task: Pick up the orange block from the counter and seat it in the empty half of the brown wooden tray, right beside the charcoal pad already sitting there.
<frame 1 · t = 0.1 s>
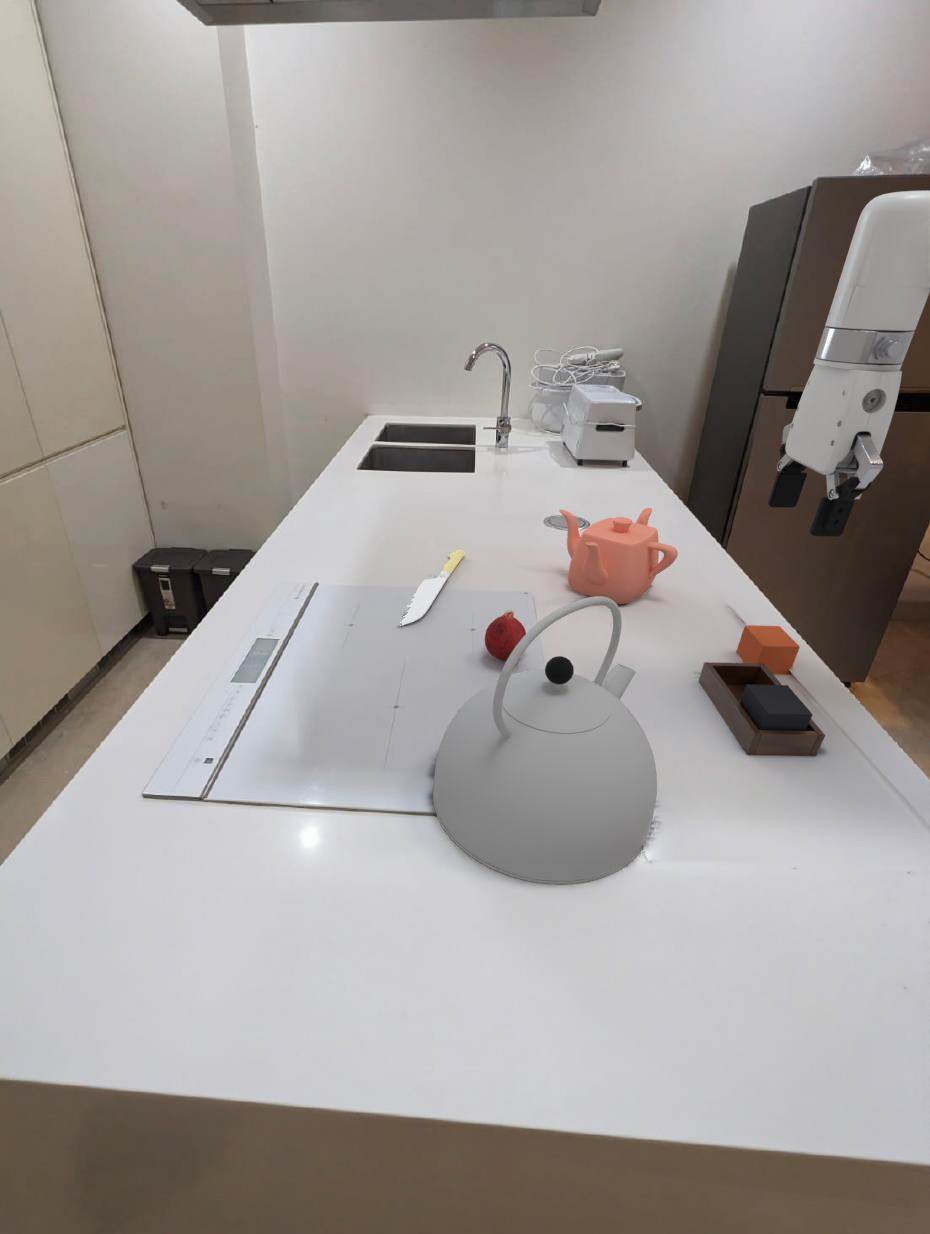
hand: (801, 520, 71), 24 cm above the counter, tool pointing down, fingers open, 9 cm apart
knife: (432, 587, 111), on the counter
orange block: (760, 666, 90), on the counter
red pomegranate: (503, 662, 90), on the counter
pad charcoal: (765, 732, 76), point 1 cm above the counter, touching brown wooden tray
kettle: (546, 793, 68), on the counter
brown wooden tray: (751, 719, 79), on the counter
pot: (605, 586, 113), on the counter
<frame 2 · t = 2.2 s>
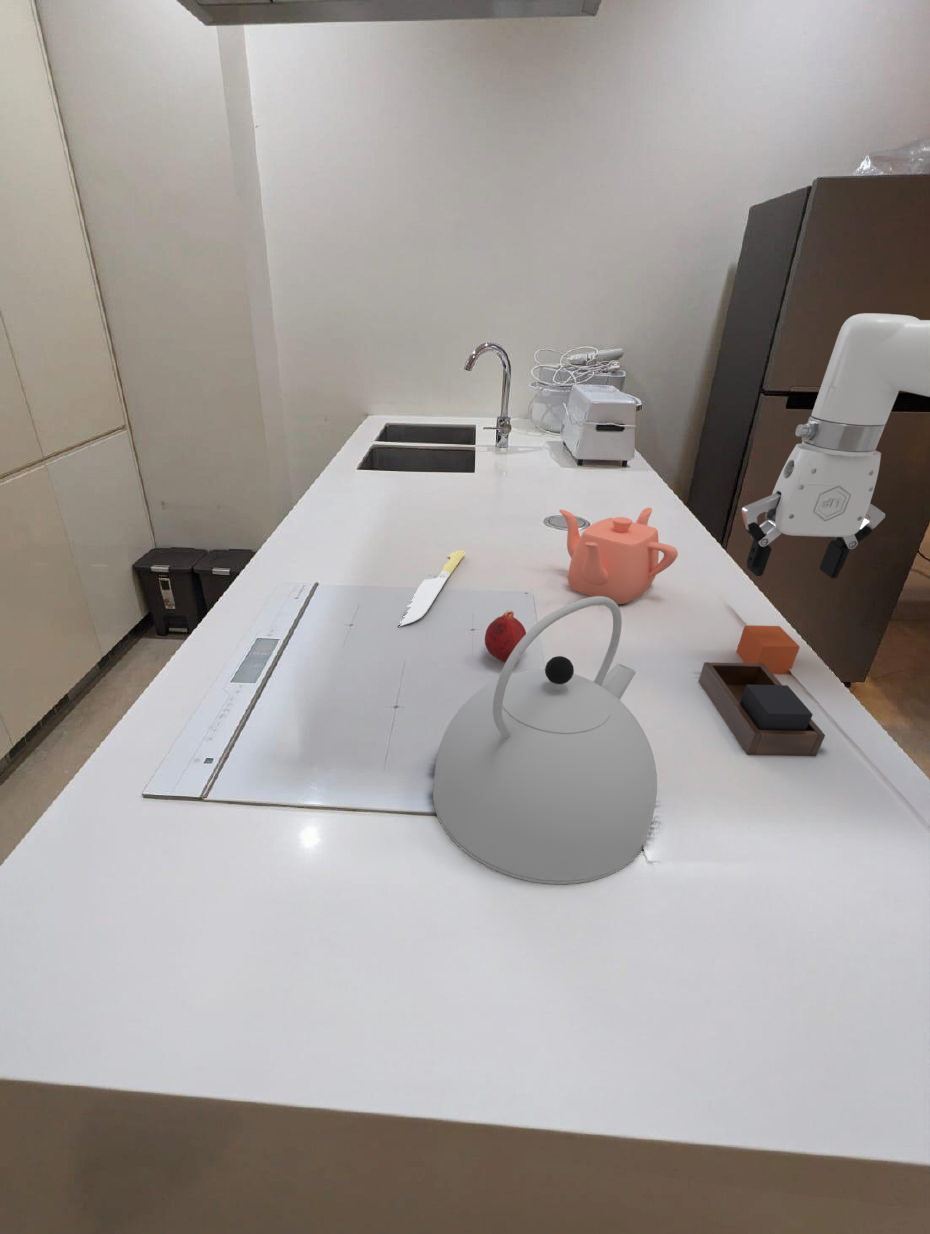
hand: (790, 572, 82), 14 cm above the counter, tool pointing down, fingers open, 9 cm apart
nothing on the counter moved.
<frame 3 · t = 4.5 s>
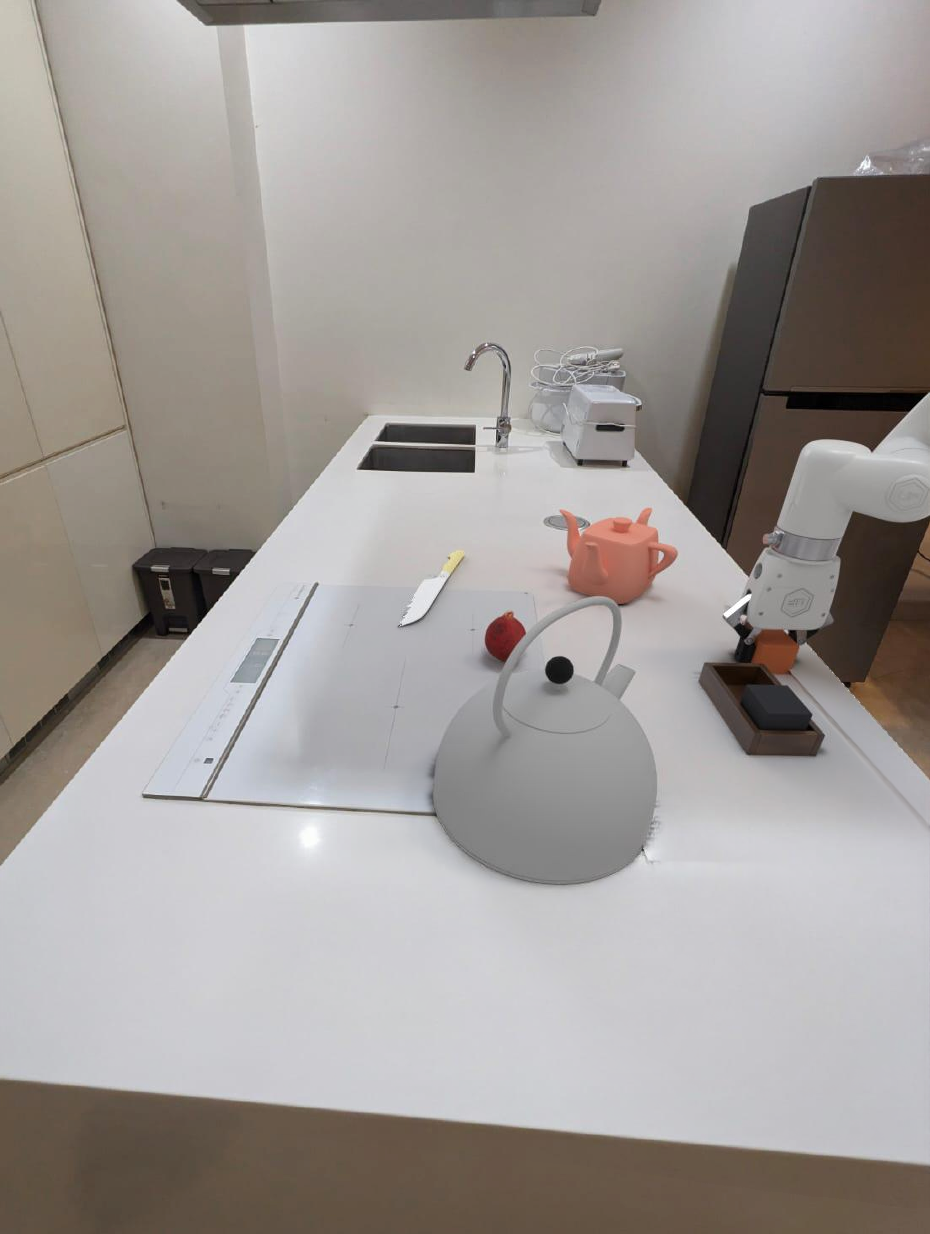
hand: (761, 663, 90), 0 cm above the counter, tool pointing down, fingers closed on orange block, 5 cm apart
orange block: (760, 666, 90), on the counter, touching gripper
everything else where it was.
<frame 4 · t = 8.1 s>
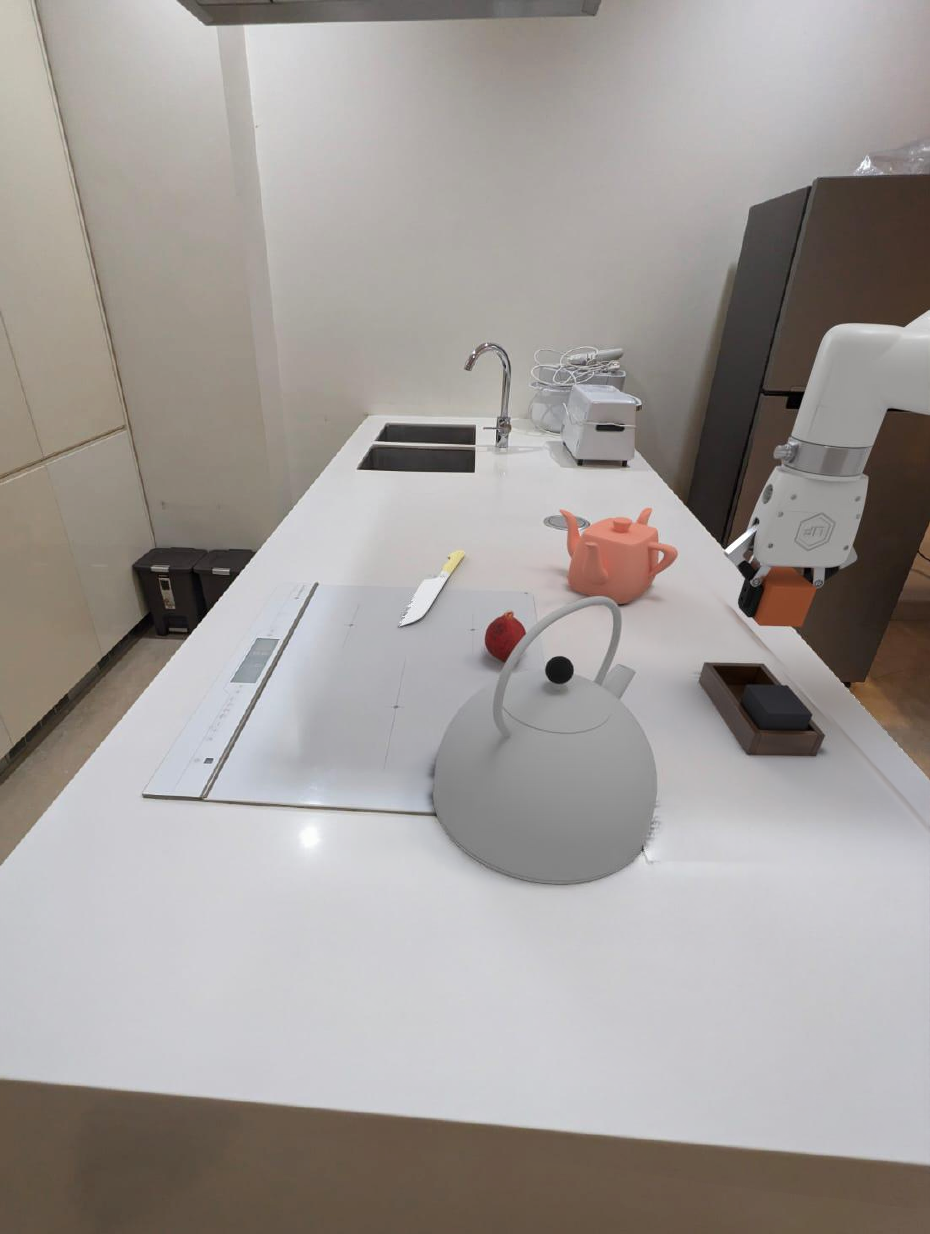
hand: (770, 611, 76), 13 cm above the counter, tool pointing down, fingers closed on orange block, 5 cm apart
orange block: (768, 614, 76), point 13 cm above the counter, touching gripper
everything else where it was.
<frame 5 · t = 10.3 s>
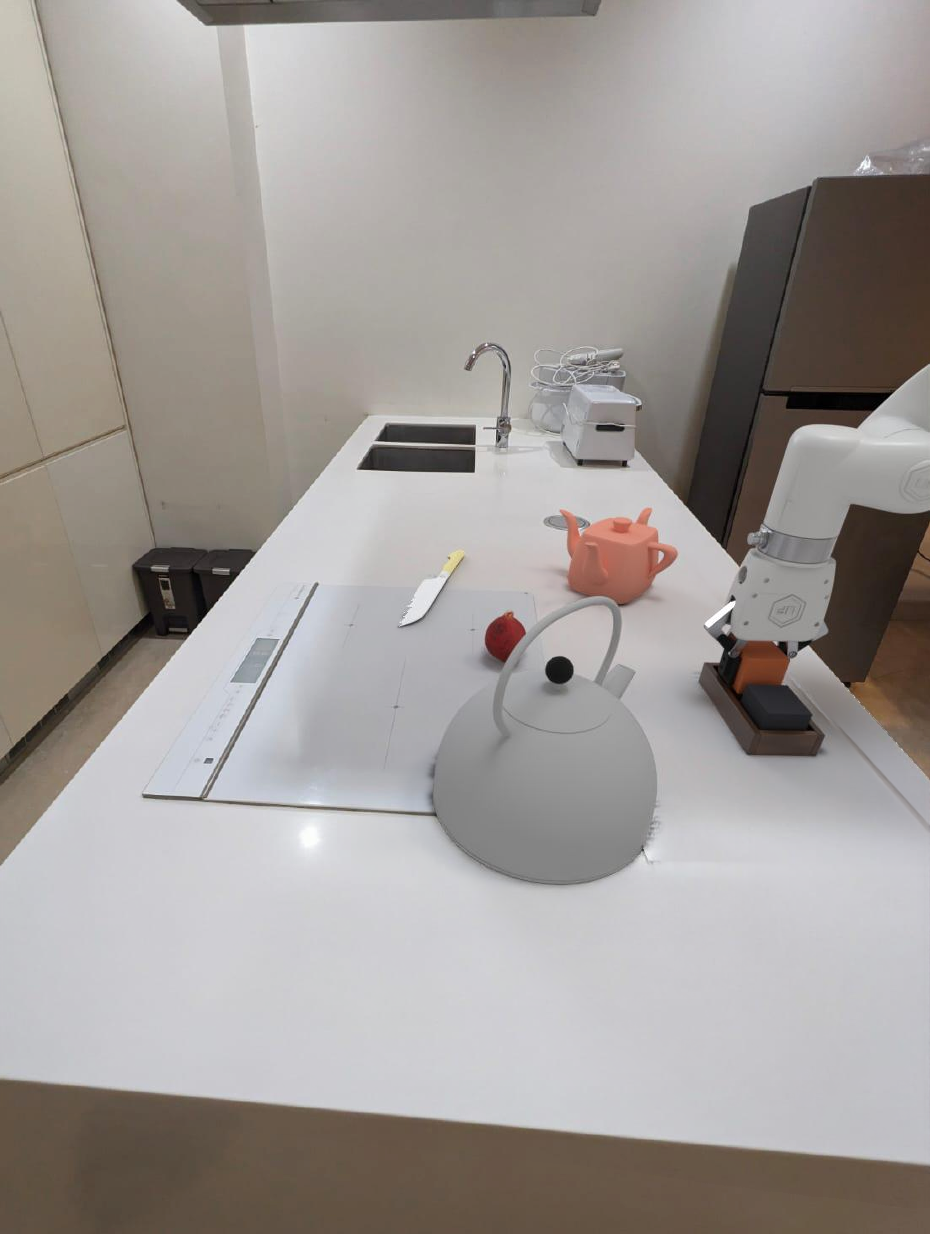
hand: (748, 678, 80), 4 cm above the counter, tool pointing down, fingers closed on orange block, 5 cm apart
orange block: (747, 681, 81), point 3 cm above the counter, touching gripper
everything else where it was.
when the fingers open (4 cm above the counter, at t = 11.9 s): orange block drops 3 cm, resting on brown wooden tray.
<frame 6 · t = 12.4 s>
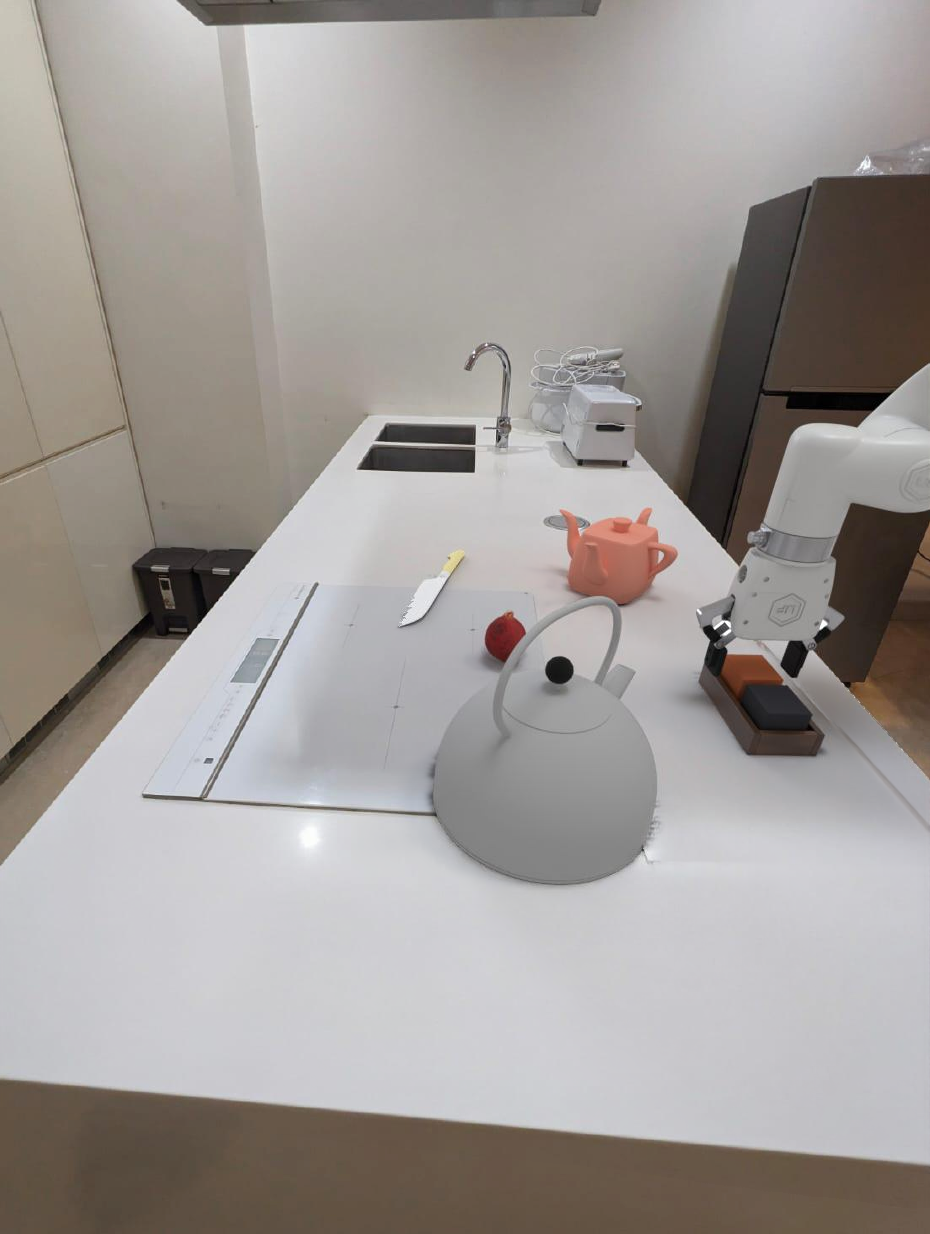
hand: (750, 671, 80), 5 cm above the counter, tool pointing down, fingers open, 9 cm apart
orange block: (741, 699, 82), point 1 cm above the counter, touching brown wooden tray
everything else where it was.
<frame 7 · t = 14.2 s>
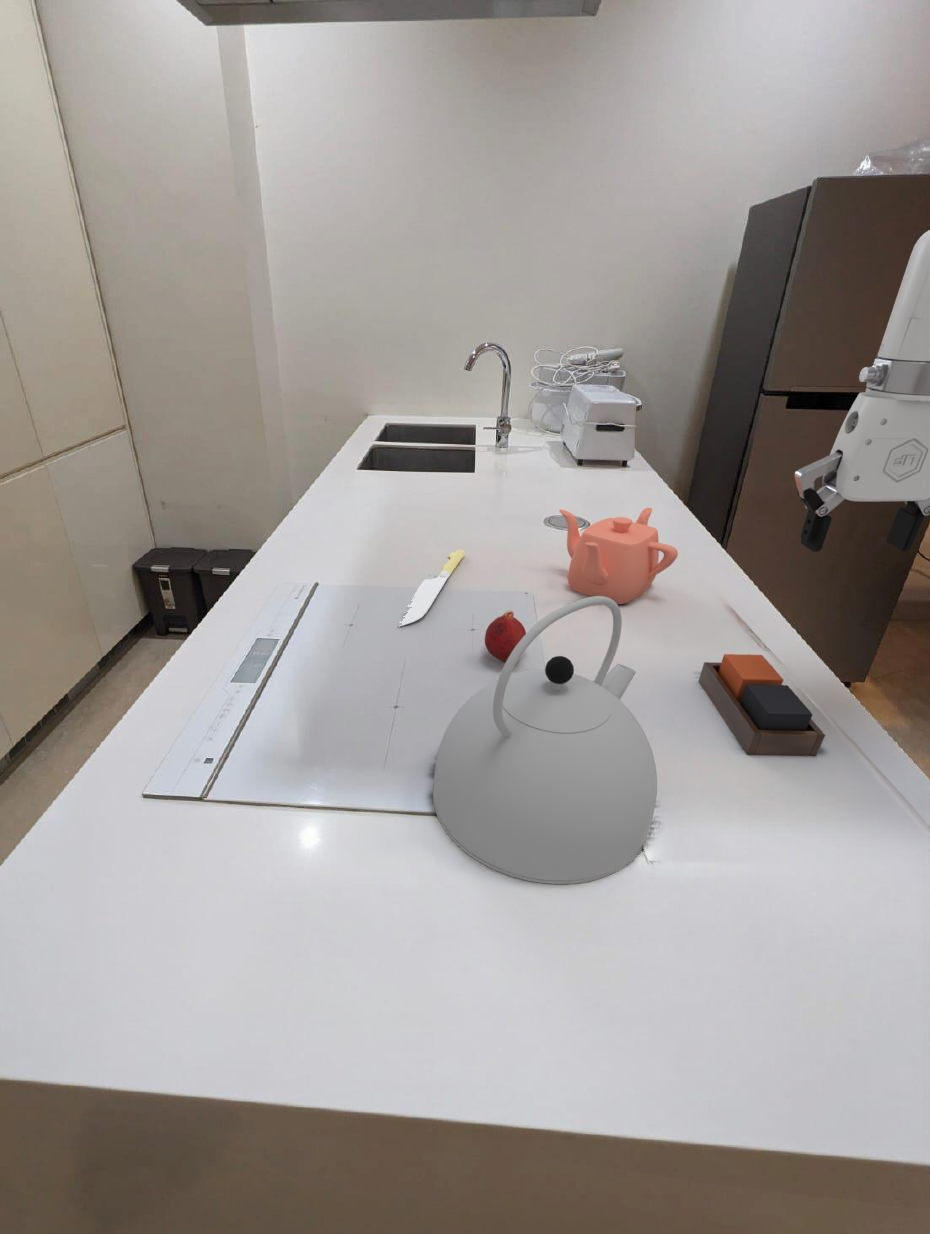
hand: (853, 547, 70), 22 cm above the counter, tool pointing down, fingers open, 9 cm apart
nothing on the counter moved.
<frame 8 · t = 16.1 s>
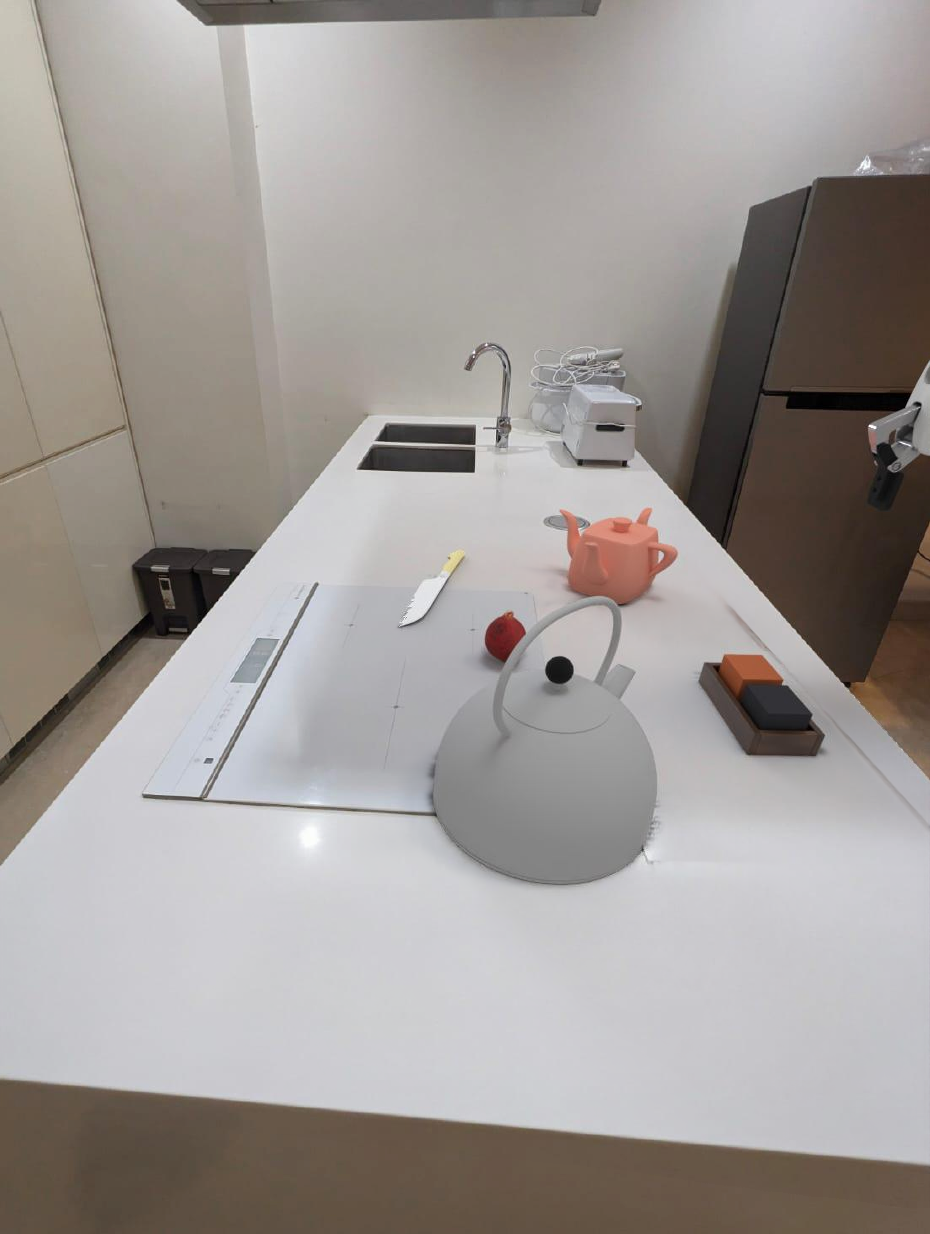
hand: (922, 507, 68), 26 cm above the counter, tool pointing down, fingers open, 9 cm apart
nothing on the counter moved.
at the end: orange block 0.2 cm from the target spot in the brown wooden tray, point 0.6 cm above the brown wooden tray's base; orange block tilted 0°; orange block 7.2 cm from the pad charcoal (horizontally) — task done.
